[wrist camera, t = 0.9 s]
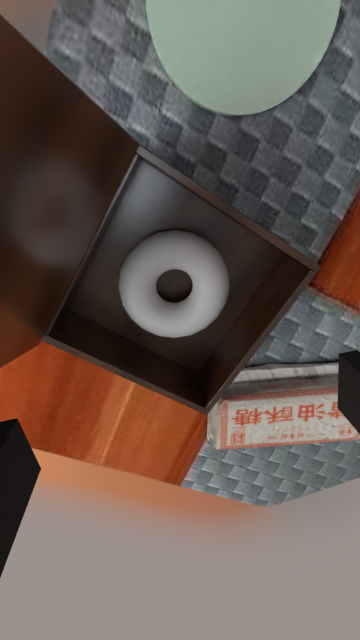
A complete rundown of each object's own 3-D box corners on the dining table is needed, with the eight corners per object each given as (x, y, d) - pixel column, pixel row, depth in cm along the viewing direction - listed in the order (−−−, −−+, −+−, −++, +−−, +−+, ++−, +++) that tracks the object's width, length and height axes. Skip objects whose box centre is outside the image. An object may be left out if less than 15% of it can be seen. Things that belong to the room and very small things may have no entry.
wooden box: (289, 249, 31) (321, 266, 25) (198, 375, 36) (207, 415, 30) (139, 149, 27) (135, 140, 21) (59, 308, 32) (37, 338, 26)
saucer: (365, -111, 22) (372, -121, 21) (306, 129, 27) (310, 128, 26) (155, -167, 20) (155, -180, 19) (137, 101, 25) (137, 99, 25)
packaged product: (212, 468, 35) (213, 393, 31) (205, 436, 40) (206, 366, 36) (372, 456, 36) (393, 381, 32) (348, 426, 41) (364, 357, 37)
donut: (241, 246, 30) (136, 211, 28) (252, 255, 27) (135, 215, 25) (203, 338, 34) (108, 313, 32) (209, 355, 31) (104, 328, 28)
